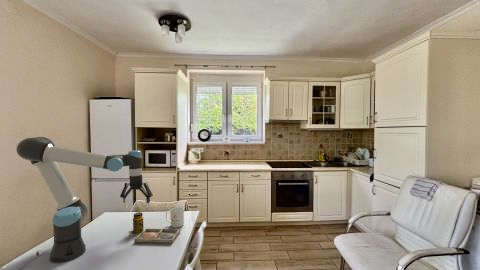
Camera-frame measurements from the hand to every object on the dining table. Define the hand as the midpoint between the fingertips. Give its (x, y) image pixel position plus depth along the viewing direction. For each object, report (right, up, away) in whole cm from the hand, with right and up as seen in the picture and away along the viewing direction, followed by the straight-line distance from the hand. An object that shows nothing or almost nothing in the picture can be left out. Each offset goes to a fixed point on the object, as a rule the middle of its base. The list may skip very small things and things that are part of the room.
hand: (136, 207), depth 146 cm
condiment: (0, -16, 0) cm, 16 cm away
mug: (+21, -15, +10) cm, 28 cm away
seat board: (+16, -16, -8) cm, 24 cm away
